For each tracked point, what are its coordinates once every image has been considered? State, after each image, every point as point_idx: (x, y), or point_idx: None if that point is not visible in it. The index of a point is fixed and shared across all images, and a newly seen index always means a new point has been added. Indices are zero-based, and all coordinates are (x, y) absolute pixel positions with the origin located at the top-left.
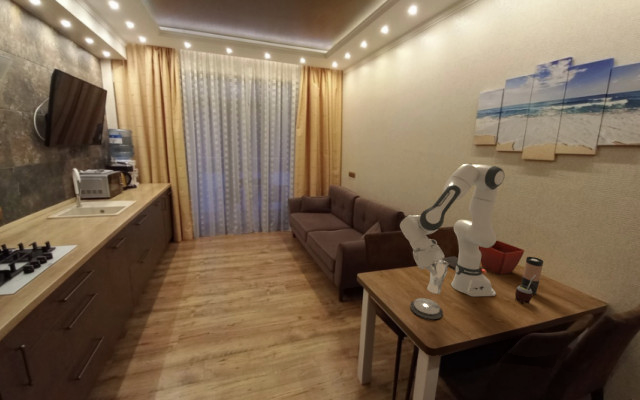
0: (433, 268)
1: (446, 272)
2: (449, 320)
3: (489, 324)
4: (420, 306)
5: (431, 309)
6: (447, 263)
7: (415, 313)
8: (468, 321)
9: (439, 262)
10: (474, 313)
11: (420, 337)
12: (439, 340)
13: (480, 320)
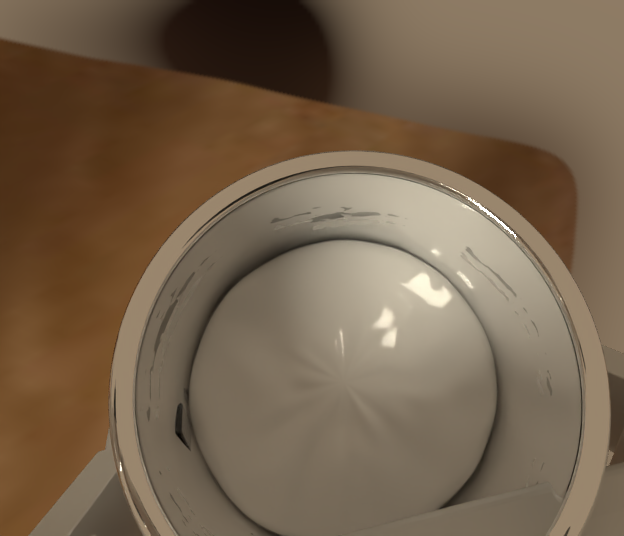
0: (524, 415)
1: (303, 225)
2: None
3: (62, 113)
4: None
5: None
6: (191, 245)
7: None
8: (157, 192)
9: (196, 523)
10: (22, 225)
11: (573, 235)
12: (489, 169)
13: (70, 162)
